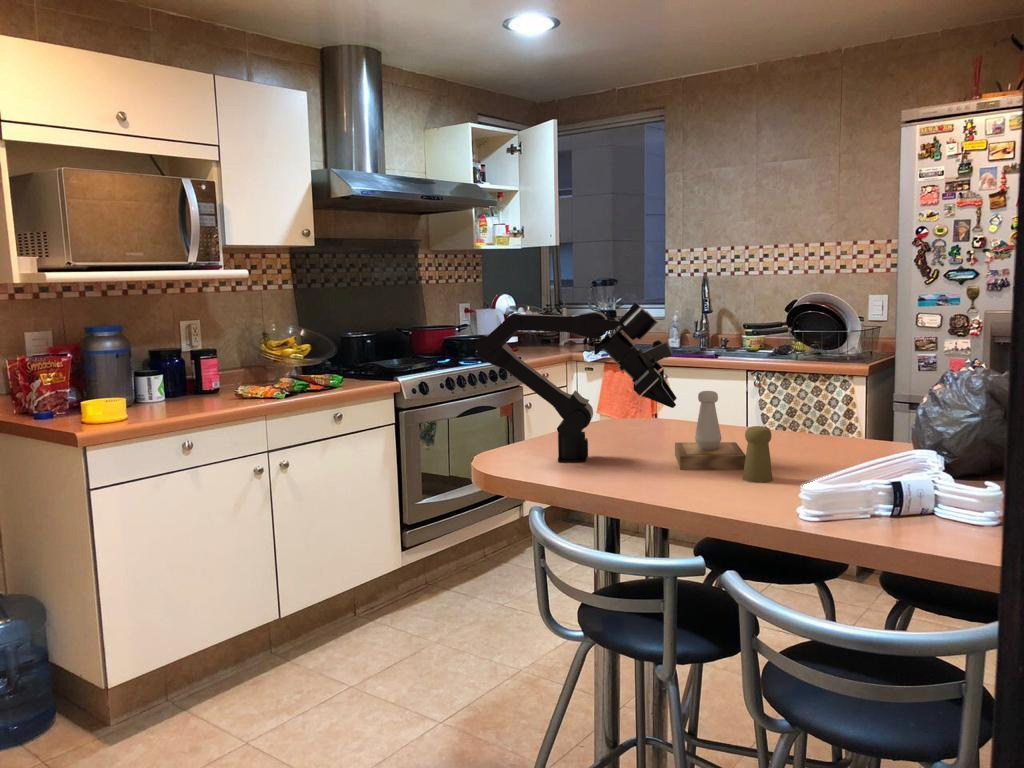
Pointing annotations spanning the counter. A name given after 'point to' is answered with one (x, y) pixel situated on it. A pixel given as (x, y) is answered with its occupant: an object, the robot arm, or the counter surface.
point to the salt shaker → (707, 422)
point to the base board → (710, 457)
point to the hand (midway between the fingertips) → (674, 403)
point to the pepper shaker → (758, 455)
